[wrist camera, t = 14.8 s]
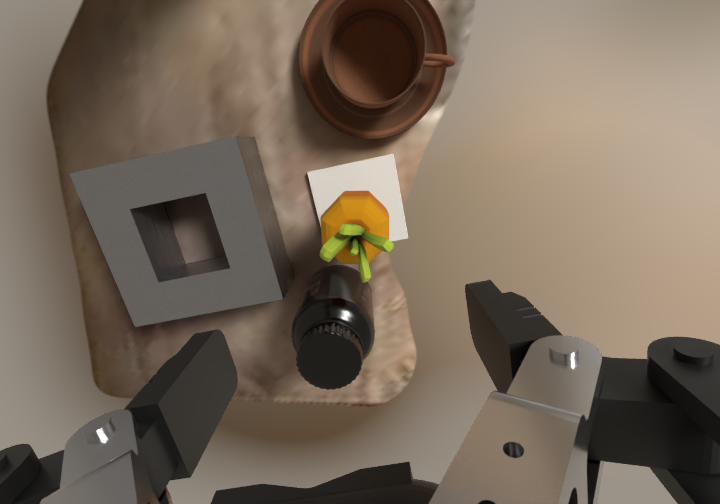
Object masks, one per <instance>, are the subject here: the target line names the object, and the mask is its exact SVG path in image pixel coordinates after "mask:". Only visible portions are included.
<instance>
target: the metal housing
mask: <svg viewBox="0 0 720 504" xmlns="http://www.w3.org/2000/svg"><path fill="white" fill-rule="evenodd" d="M70 177H71V179H72V181H73V184H74V186H75V188H76V191H77V193H78V195H79V198H80V200H81V202H82V205H83V207H84V209H85V212H86V214H87V216H88V219H89V221H90V223H91V226H92V228H93V230H94V233H95V235H96V237H97V240H98V242H99V244H100V247H101V249H102V251H103V254H104V256H105V258H106V261H107V263H108V265H109V268H110V270H111V272H112V275H113V277H114V279H115V282H116V284H117V286H118V289H119V291H120V293H121V296H122V298H123V300H124V303H125V305H126V307H127V310H128V312H129V314H130V317H131V319H132V321H133V324H134V326H135V327H138V326H143V325H149V324H154V323H159V322H165V321H170V320H175V319H181V318H186V317H191V316H197V315H202V314H207V313H213V312H218V311H223V310H229V309H234V308H239V307H245V306H250V305H255V304H260V303H266V302H271V301H276V300H282V299H284V297H285V295H286V293H287V291H288V289H289V287H290V285H291V283H292V281H293V279H294V277H293V274H292V270H291V267H290V263H289V259H288V256H287V252H286V249H285V245H284V242H283V238H282V234H281V231H280V227H279V224H278V220H277V216H276V213H275V209H274V206H273V202H272V198H271V195H270V191H269V188H268V184H267V180H266V177H265V173H264V170H263V166H262V162H261V159H260V155H259V152H258V148H257V144H256V141H255V137H244V136H234V137H230V138H225V139H221V140H216V141H212V142H208V143H203V144H199V145H194V146H190V147H185V148H181V149H176V150H172V151H168V152H163V153H159V154H154V155H150V156H145V157H141V158H136V159H132V160H128V161H123V162H119V163H114V164H110V165H105V166H101V167H96V168H92V169H88V170H83V171H79V172H74V173H70ZM203 193H206V196H207V199H208V202H209V205H210V208H211V211H212V214H213V217H214V220H215V223H216V226H217V229H218V232H219V235H220V238H221V241H222V244H223V247H224V250H225V253H226V256H223V257H218V258H213V259H208V260H203V261H198V262H193V263H188V264H185V261H184V258H183V256H182V253H181V250H180V247H179V245H178V242H177V239H176V236H175V234H174V231H173V228H172V226H171V223H170V220H169V217H168V215H167V212H166V209H165V206H164V204H163V202H165V201H170V200H175V199H179V198H184V197H189V196H193V195H198V194H203Z"/></svg>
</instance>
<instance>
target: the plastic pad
mask: <svg viewBox="0 0 720 504" xmlns="http://www.w3.org/2000/svg"><path fill="white" fill-rule="evenodd" d="M307 174H308V178H309V182H310V186H311V190H312V194H313V198H314V202H315V206H316V210H317V214H318V219H319V223H320V227H321V215H322V214H323V213H324V212H325V211H326V210H327V209H328V208H329V207H330V206H331V205H332V204H333V202H334V201H335V200H336V199H337V198H338V197H339V196H340V195H341V194H342V193H343V192H344V191H369V192H370V193H371V194H372V195H373V196H374V197H375V198H376V199H377V200H379V201H380V202H381V203H382V204H383V205H384V206H385V208H386V209H387V211H388V214H389V240H390V241H391V242H392V241H397V240H402V239H408V234H407V228H406V222H405V217H404V212H403V205H402V200H401V194H400V188H399V183H398V177H397V171H396V166H395V160H394V154H389V155H384V156H380V157H375V158H370V159H366V160H361V161H356V162H352V163H347V164H342V165H338V166H333V167H328V168H324V169H319V170H314V171H310V172H307Z"/></svg>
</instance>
